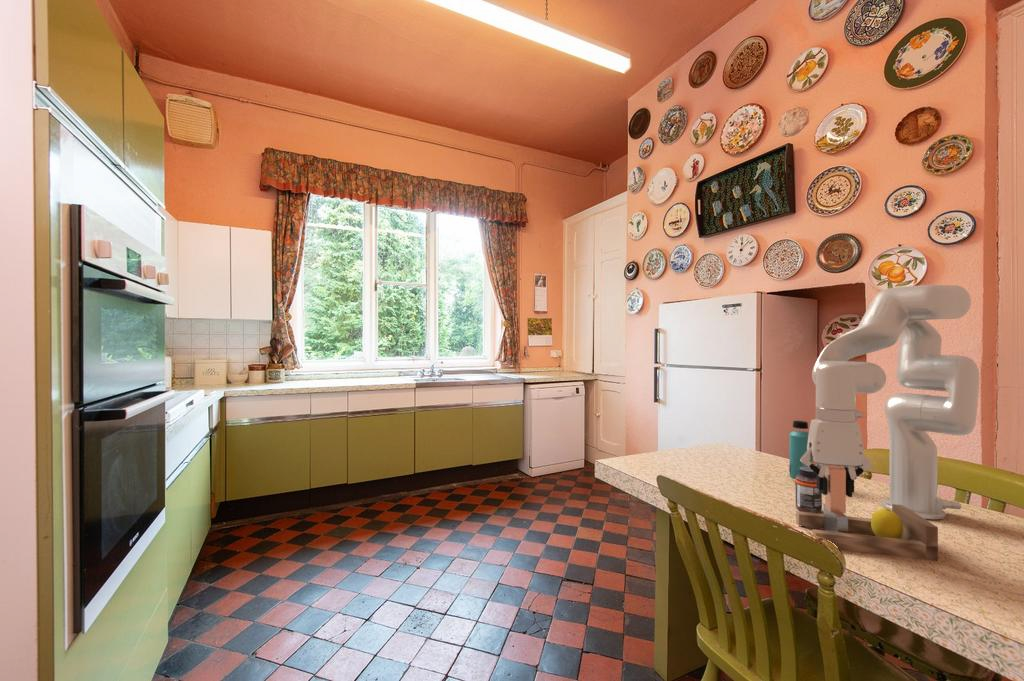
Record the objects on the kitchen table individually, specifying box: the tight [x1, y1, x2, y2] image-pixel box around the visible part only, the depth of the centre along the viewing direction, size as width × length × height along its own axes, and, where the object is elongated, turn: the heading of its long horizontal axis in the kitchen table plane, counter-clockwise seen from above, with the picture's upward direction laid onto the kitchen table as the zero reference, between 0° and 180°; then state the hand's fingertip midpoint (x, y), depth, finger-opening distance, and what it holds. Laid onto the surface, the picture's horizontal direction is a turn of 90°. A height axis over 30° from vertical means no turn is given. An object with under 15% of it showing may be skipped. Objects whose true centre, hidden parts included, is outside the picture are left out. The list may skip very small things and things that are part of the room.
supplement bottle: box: [794, 467, 823, 514], centre depth 118 cm, size 6×6×11 cm
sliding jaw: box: [822, 465, 849, 533], centre depth 102 cm, size 3×8×16 cm, turn 163°
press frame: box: [795, 504, 939, 562], centre depth 100 cm, size 22×13×7 cm, turn 73°
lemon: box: [870, 507, 903, 539], centre depth 99 cm, size 6×6×8 cm
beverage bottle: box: [788, 420, 814, 480], centre depth 141 cm, size 6×7×20 cm
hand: (835, 493), depth 102 cm, fingers open, 4 cm apart
